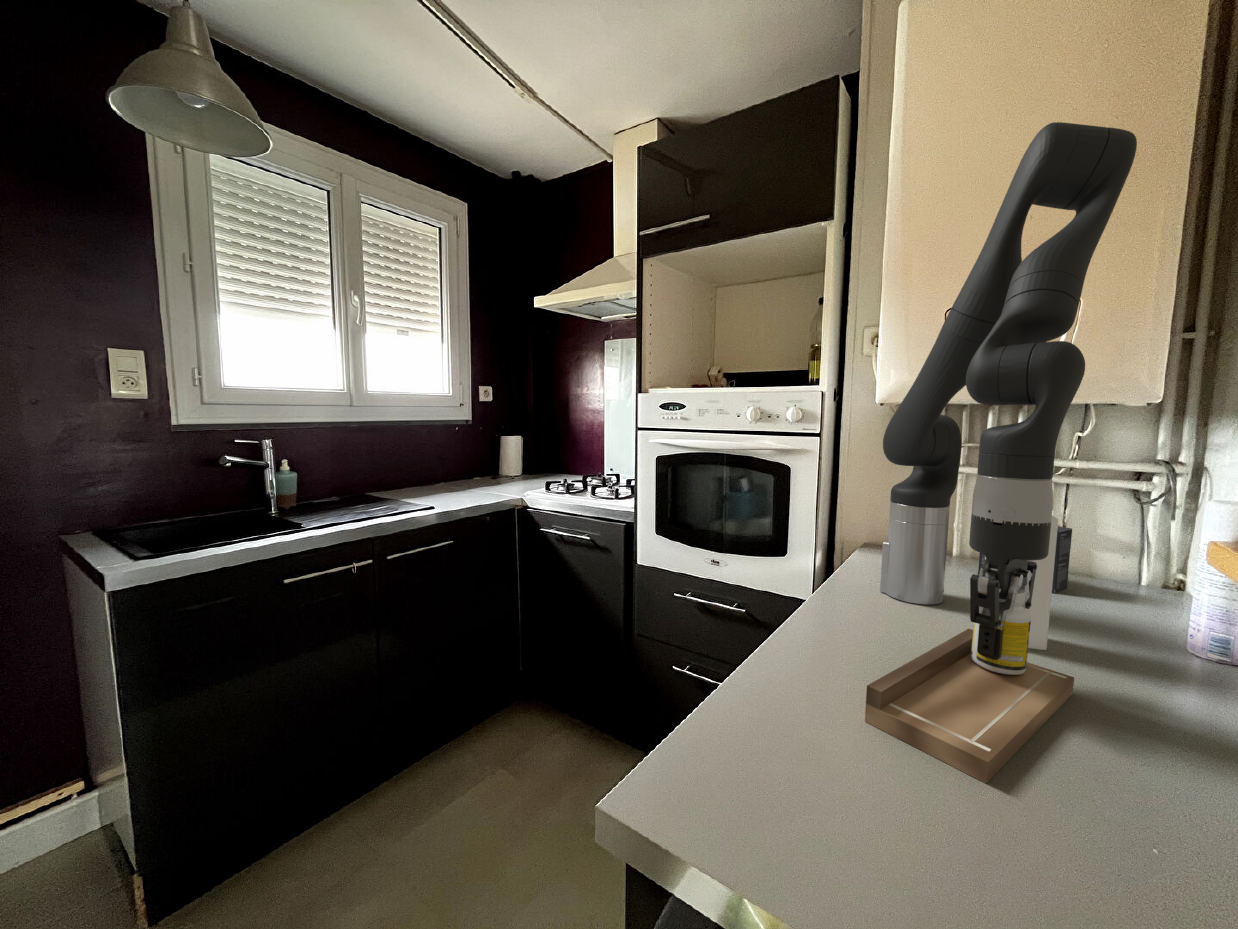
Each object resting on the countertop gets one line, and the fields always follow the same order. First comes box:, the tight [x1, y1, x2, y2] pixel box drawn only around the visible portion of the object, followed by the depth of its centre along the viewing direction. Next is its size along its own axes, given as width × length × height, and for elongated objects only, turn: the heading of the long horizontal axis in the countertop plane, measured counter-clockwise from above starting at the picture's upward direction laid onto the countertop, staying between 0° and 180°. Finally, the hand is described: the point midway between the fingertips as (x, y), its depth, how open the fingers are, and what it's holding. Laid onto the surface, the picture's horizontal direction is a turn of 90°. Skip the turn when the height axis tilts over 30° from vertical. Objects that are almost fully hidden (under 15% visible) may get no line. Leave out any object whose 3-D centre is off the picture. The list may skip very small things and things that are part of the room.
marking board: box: [864, 628, 1075, 784], centre depth 56 cm, size 11×26×4 cm, turn 125°
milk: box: [985, 515, 1059, 651], centre depth 73 cm, size 6×6×22 cm
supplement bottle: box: [971, 589, 1031, 675], centre depth 61 cm, size 5×5×10 cm
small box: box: [976, 526, 1073, 594], centre depth 100 cm, size 13×7×12 cm, turn 32°
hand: (998, 649), depth 61 cm, fingers closed on supplement bottle, 5 cm apart
